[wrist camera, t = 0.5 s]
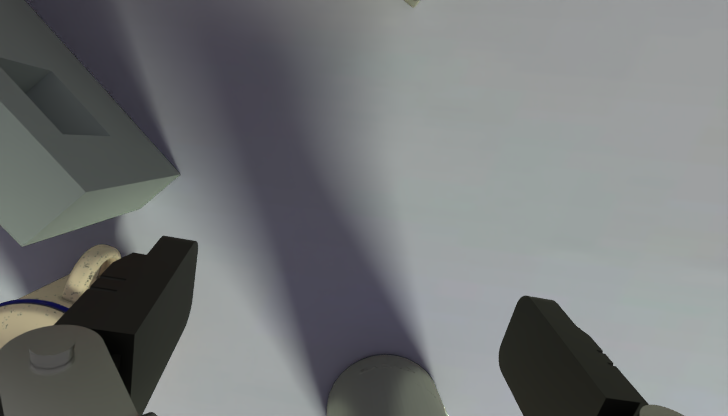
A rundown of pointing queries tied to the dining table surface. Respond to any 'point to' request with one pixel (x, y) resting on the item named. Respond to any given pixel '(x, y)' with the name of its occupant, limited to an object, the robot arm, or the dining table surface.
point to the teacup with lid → (54, 295)
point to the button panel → (64, 138)
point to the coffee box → (412, 2)
